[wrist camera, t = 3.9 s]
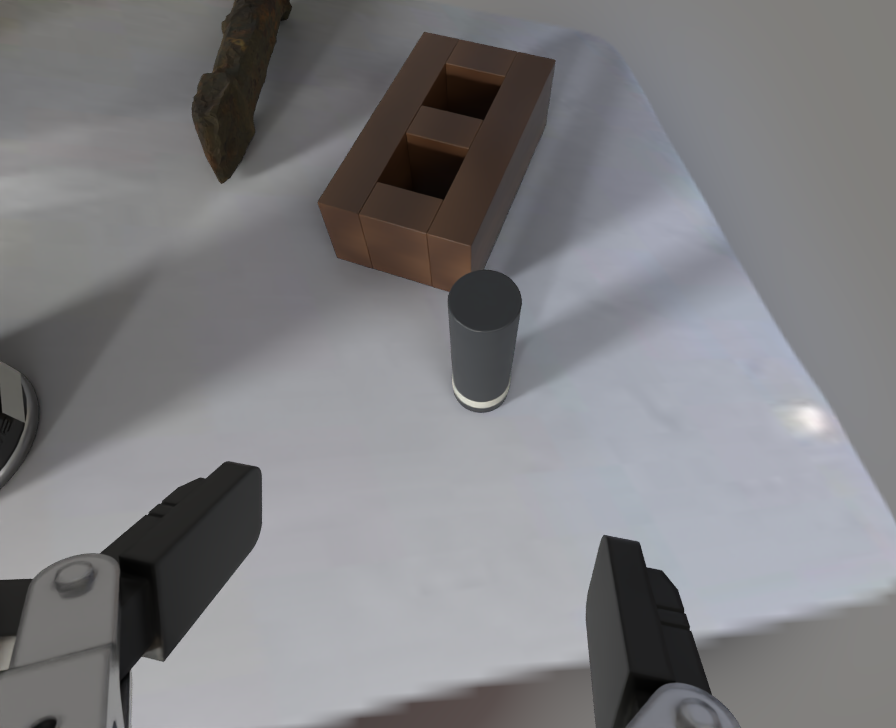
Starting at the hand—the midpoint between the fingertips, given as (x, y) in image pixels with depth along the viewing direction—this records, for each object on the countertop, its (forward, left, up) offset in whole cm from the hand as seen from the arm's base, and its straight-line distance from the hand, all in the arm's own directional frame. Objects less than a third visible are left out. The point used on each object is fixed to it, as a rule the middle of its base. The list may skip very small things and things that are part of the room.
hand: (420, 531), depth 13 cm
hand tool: (-26, +27, -15) cm, 40 cm away
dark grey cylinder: (-2, +10, -15) cm, 18 cm away
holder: (-9, +23, -15) cm, 29 cm away
